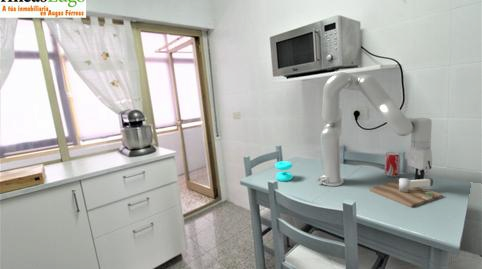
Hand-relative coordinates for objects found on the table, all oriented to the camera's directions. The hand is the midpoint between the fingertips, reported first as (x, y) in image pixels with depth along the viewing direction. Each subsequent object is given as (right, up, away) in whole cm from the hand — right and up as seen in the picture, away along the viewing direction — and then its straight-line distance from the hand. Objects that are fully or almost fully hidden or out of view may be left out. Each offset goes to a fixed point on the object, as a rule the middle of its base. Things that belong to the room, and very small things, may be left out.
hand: (419, 181), depth 116 cm
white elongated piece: (-3, -3, -2) cm, 5 cm away
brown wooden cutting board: (-9, -5, -2) cm, 10 cm away
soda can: (0, -1, +21) cm, 21 cm away
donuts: (-59, -5, +31) cm, 67 cm away
